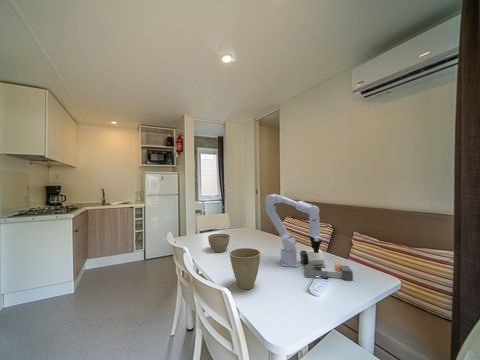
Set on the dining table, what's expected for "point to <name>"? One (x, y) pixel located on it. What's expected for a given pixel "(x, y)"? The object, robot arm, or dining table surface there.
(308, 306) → the dining table surface
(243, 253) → the plant pot
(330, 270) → the slab with tan knob
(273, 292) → the dining table surface
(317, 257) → the jar
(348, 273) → the dark gray rectangular block
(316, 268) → the sleeve
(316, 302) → the dining table surface
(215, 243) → the planter bowl
